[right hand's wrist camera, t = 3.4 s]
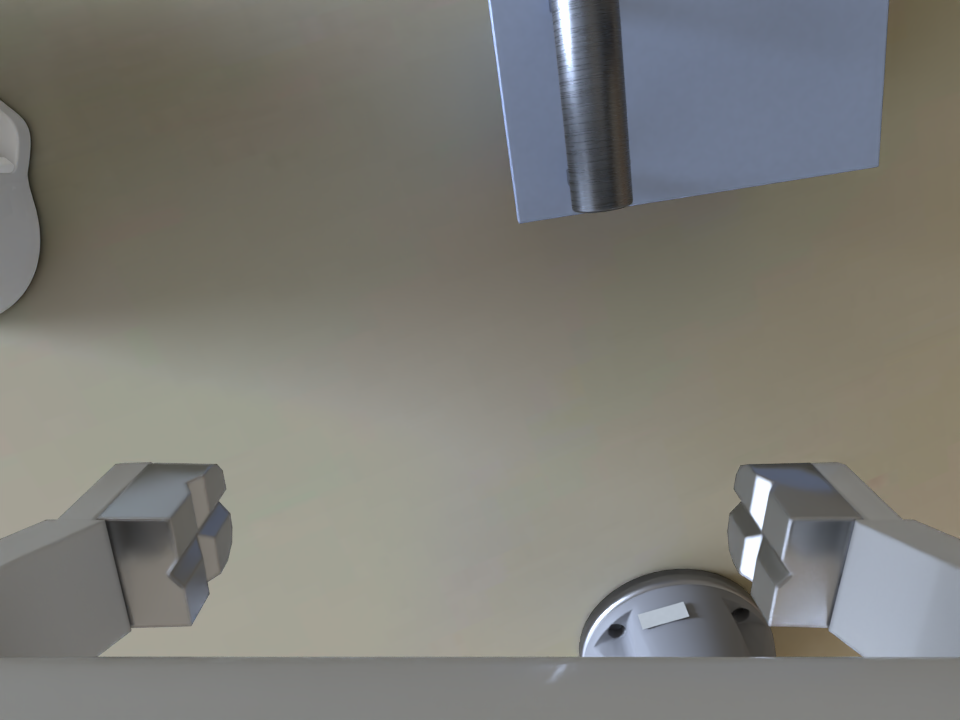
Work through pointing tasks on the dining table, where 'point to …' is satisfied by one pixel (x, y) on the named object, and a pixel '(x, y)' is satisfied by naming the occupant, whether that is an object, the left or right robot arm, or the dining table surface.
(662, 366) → the dining table surface
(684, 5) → the lid
